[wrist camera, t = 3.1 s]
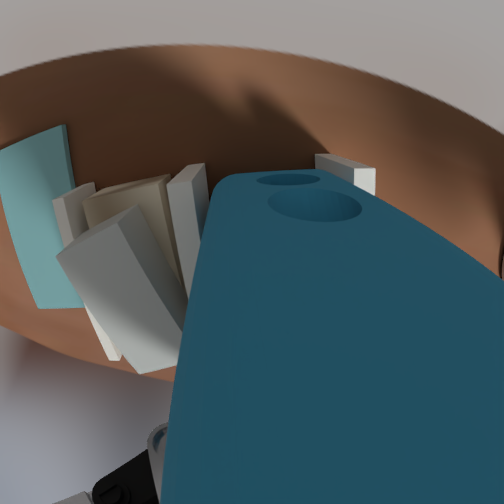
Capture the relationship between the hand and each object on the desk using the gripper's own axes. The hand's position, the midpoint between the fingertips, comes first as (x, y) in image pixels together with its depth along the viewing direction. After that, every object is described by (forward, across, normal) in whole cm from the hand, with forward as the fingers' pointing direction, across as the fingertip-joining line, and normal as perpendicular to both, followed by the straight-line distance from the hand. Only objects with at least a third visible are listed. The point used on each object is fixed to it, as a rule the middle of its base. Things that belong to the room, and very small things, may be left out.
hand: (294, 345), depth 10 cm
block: (+10, 0, 0) cm, 10 cm away
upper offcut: (+6, +7, 0) cm, 10 cm away
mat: (+10, +15, -3) cm, 18 cm away
